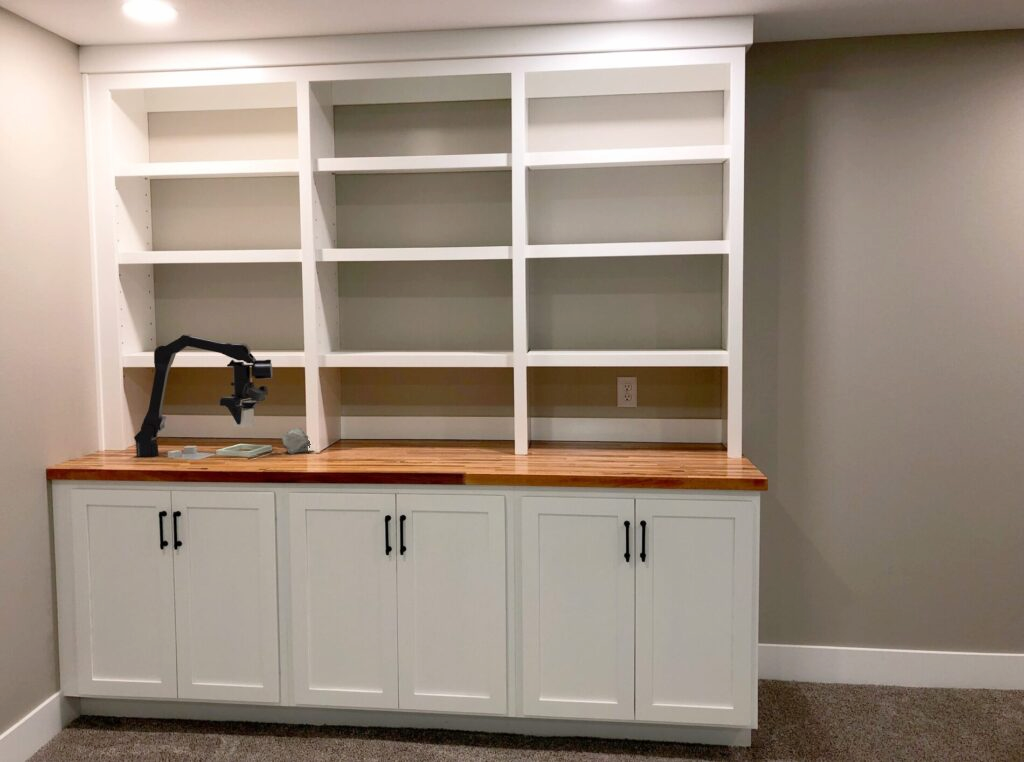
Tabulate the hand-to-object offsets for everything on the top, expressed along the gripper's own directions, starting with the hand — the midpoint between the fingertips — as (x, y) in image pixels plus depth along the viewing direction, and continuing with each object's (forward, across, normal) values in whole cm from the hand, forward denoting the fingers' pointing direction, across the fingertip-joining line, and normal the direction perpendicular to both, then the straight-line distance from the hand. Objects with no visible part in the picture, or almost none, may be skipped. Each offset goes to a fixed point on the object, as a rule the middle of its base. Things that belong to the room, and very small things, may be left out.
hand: (243, 423), depth 297 cm
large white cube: (+1, 0, 0) cm, 1 cm away
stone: (+12, +9, -15) cm, 21 cm away
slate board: (+11, -11, +13) cm, 20 cm away
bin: (+11, 0, 0) cm, 11 cm away
